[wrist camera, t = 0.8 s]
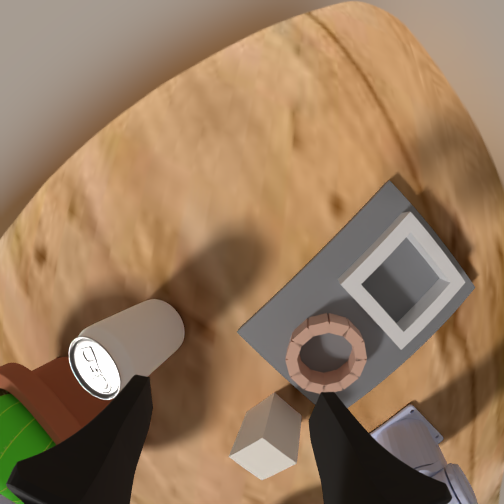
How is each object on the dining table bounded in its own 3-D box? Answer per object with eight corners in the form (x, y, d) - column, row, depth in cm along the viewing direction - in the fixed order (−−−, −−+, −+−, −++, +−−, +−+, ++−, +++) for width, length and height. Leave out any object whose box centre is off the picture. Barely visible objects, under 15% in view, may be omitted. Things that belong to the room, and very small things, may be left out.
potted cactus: (176, 450, 33) (83, 577, 8) (96, 463, 37) (18, 537, 13) (83, 317, 33) (-77, 382, 9) (27, 364, 38) (-74, 412, 13)
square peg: (301, 415, 29) (296, 463, 21) (273, 433, 30) (262, 480, 22) (274, 392, 29) (262, 437, 21) (246, 411, 30) (228, 456, 22)
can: (149, 357, 32) (87, 405, 20) (128, 306, 32) (54, 338, 20) (195, 346, 30) (138, 402, 19) (172, 290, 30) (101, 323, 18)
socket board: (468, 284, 24) (487, 292, 20) (331, 411, 28) (332, 433, 24) (385, 182, 25) (397, 175, 21) (240, 327, 29) (230, 341, 25)
